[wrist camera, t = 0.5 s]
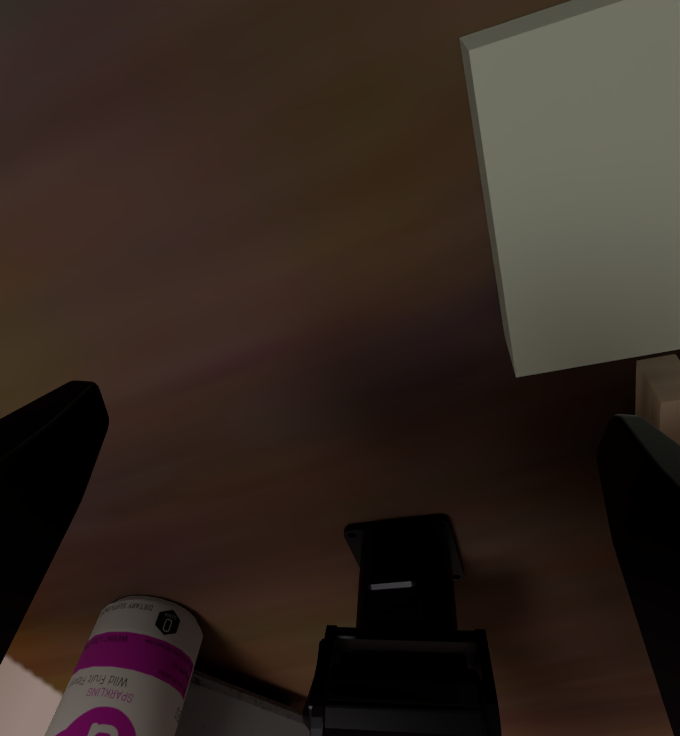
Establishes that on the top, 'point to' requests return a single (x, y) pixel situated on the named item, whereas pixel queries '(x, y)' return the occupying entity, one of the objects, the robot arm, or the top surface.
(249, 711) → the vintage electronic device
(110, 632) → the supplement can
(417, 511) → the top surface
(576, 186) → the dock
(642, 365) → the tall tan box
